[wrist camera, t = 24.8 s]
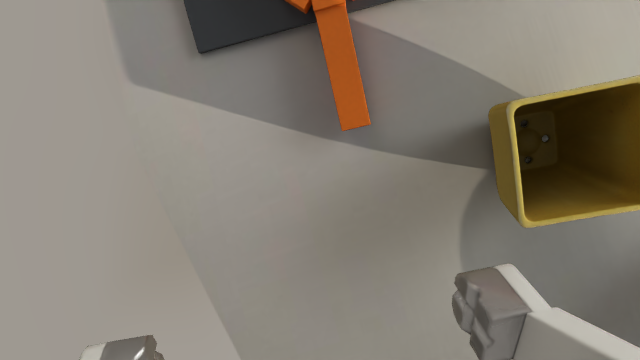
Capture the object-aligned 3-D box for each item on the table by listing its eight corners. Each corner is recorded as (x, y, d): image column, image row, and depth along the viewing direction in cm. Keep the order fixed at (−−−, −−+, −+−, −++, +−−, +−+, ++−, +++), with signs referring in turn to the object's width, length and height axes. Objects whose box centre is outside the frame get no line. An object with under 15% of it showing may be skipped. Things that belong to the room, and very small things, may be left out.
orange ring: (310, 137, 35) (307, 139, 33) (256, -82, 32) (250, -94, 30) (403, 115, 34) (406, 116, 32) (358, -114, 31) (359, -128, 29)
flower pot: (466, 100, 34) (506, 101, 25) (572, 78, 33) (653, 72, 24) (479, 196, 36) (520, 229, 27) (580, 179, 35) (658, 207, 26)
